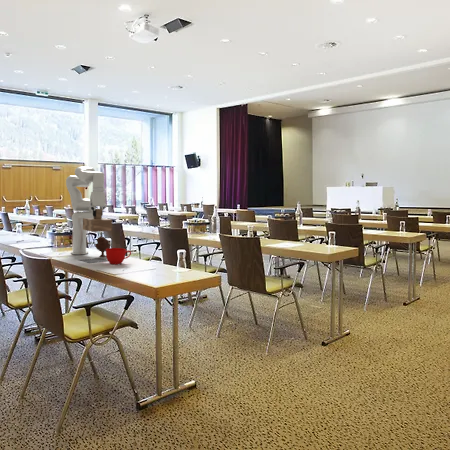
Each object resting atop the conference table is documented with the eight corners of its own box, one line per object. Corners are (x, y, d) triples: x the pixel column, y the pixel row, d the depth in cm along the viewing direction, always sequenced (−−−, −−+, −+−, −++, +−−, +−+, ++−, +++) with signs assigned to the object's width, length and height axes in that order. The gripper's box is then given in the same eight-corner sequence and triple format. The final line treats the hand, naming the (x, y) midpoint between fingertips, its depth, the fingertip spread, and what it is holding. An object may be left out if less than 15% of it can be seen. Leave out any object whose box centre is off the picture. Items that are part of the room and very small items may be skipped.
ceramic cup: (133, 264, 311) (134, 249, 310) (108, 266, 303) (108, 250, 302) (127, 261, 322) (128, 247, 321) (103, 263, 314) (103, 248, 313)
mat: (77, 260, 321) (77, 259, 321) (99, 258, 333) (99, 257, 333) (89, 263, 309) (89, 263, 309) (112, 261, 320) (112, 261, 320)
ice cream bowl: (106, 258, 334) (106, 237, 333) (92, 257, 336) (92, 236, 335) (112, 256, 344) (113, 236, 343) (98, 255, 347) (99, 235, 346)
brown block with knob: (82, 229, 326) (83, 208, 324) (101, 228, 336) (102, 208, 334) (92, 231, 315) (93, 209, 314) (111, 230, 325) (112, 209, 324)
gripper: (106, 189, 331) (105, 215, 333) (84, 189, 320) (83, 216, 322) (111, 190, 326) (111, 216, 327) (89, 189, 314) (88, 216, 316)
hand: (97, 216), depth 325 cm, fingers closed on brown block with knob, 4 cm apart
